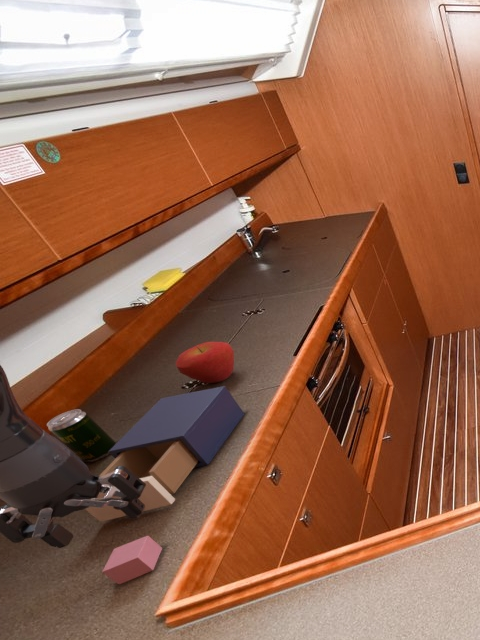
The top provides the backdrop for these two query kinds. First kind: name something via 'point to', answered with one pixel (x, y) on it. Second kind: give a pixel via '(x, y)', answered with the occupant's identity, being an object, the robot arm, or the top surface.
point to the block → (132, 560)
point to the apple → (207, 362)
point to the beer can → (81, 435)
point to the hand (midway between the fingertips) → (104, 528)
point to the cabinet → (186, 423)
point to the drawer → (151, 475)
